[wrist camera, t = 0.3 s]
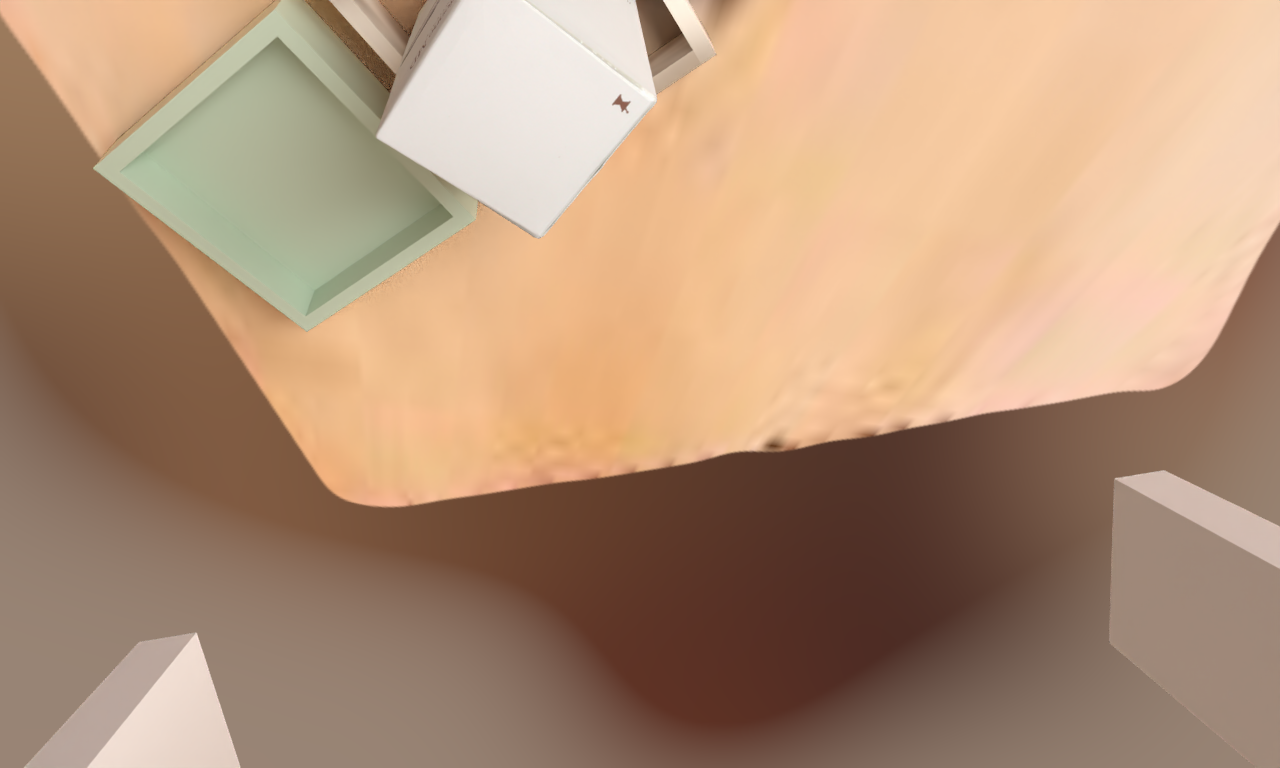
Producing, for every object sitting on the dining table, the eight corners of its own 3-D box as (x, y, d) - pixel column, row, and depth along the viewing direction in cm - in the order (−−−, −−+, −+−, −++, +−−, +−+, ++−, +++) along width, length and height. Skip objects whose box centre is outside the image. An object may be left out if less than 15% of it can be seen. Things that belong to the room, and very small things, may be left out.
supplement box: (501, -134, 32) (483, -44, 23) (636, -14, 36) (666, 104, 27) (412, 11, 36) (367, 138, 27) (543, 107, 40) (542, 246, 31)
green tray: (117, 139, 39) (92, 168, 37) (291, -15, 35) (274, 9, 33) (318, 299, 47) (306, 331, 45) (479, 190, 43) (475, 219, 40)
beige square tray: (321, -41, 34) (309, -23, 32) (550, -242, 30) (550, -234, 28) (506, 171, 42) (504, 195, 40) (708, 34, 38) (716, 54, 36)
